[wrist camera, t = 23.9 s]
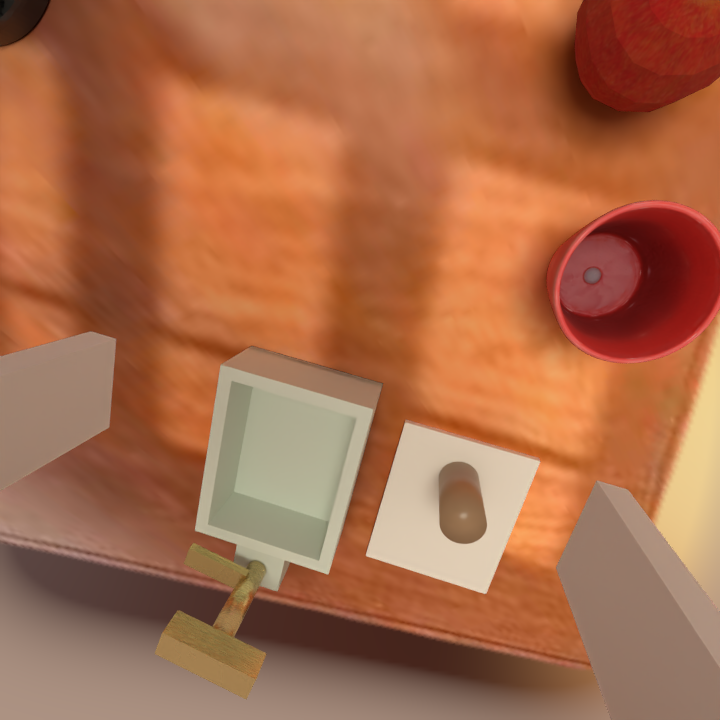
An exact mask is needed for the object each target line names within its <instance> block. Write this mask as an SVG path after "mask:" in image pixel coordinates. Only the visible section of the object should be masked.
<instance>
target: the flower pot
mask: <svg viewBox="0 0 720 720" xmlns="http://www.w3.org/2000/svg"><path fill="white" fill-rule="evenodd" d="M547 290H548V295H549V299H550V303H551V306H552V309H553V312H554V315H555V317H556V320H557V322H558V324H559V326H560V328H561V330H562V331H563V333H564V334H565V336H566V337H567V338H568V340H569V341H570V342H571V343H572V344H573V345H575V346H576V347H577V348H578V349H580V350H581V351H583V352H585V353H586V354H588V355H590V356H593V357H595V358H598V359H601V360H605V361H609V362H615V363H640V362H646V361H651V360H655V359H658V358H661V357H664V356H667V355H669V354H671V353H673V352H676V351H677V350H679V349H681V348H683V347H684V346H686V345H687V344H689V343H690V342H692V341H693V340H694V339H695V338H697V337H698V336H699V335H700V334H701V333H702V332H703V331H704V330H705V329H706V328H707V327H708V325H709V324H710V323H711V321H712V320H713V319H714V317H715V316H716V314H717V313H718V311H719V309H720V232H719V231H718V229H717V228H716V227H715V226H714V225H713V224H712V223H711V222H710V220H709V219H707V218H706V217H705V216H704V215H702V214H701V213H699V212H698V211H696V210H694V209H692V208H690V207H688V206H685V205H682V204H679V203H675V202H670V201H661V200H650V201H641V202H635V203H631V204H627V205H624V206H622V207H619V208H616V209H614V210H612V211H610V212H608V213H606V214H604V215H602V216H600V217H599V218H597V219H595V220H594V221H592V222H591V223H589V224H588V225H586V226H585V227H584V228H582V229H581V230H579V231H578V232H577V233H575V234H574V235H573V236H571V237H570V238H569V239H568V240H567V241H566V242H564V243H563V244H562V245H561V246H560V247H559V248H558V250H557V251H556V252H555V254H554V255H553V257H552V259H551V261H550V264H549V267H548V271H547Z"/></svg>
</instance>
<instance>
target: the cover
mask: <svg viewBox="0 0 720 720" xmlns="http://www.w3.org/2000/svg"><path fill="white" fill-rule="evenodd" d="M539 464H540V459H539V458H537V457H534V456H530V455H527V454H524V453H520V452H517V451H513V450H510V449H506V448H503V447H499V446H496V445H492V444H489V443H486V442H482V441H479V440H475V439H472V438H468V437H465V436H461V435H458V434H455V433H451V432H448V431H444V430H441V429H437V428H434V427H430V426H427V425H423V424H420V423H417V422H413V421H410V420H405V424H404V427H403V430H402V434H401V437H400V440H399V444H398V447H397V451H396V454H395V457H394V461H393V464H392V467H391V471H390V474H389V478H388V481H387V484H386V488H385V491H384V494H383V498H382V501H381V505H380V508H379V511H378V515H377V518H376V521H375V525H374V528H373V532H372V535H371V538H370V542H369V545H368V548H367V552H366V556H368V557H371V558H374V559H377V560H380V561H383V562H387V563H390V564H393V565H396V566H399V567H402V568H405V569H408V570H412V571H415V572H418V573H421V574H424V575H427V576H430V577H434V578H437V579H440V580H443V581H446V582H449V583H452V584H456V585H459V586H462V587H465V588H468V589H471V590H474V591H477V592H481V593H484V594H486V593H487V590H488V588H489V585H490V583H491V581H492V578H493V576H494V573H495V571H496V568H497V566H498V564H499V561H500V559H501V556H502V554H503V551H504V549H505V546H506V544H507V542H508V539H509V537H510V534H511V532H512V529H513V527H514V525H515V522H516V520H517V517H518V515H519V512H520V510H521V508H522V505H523V503H524V500H525V498H526V495H527V493H528V490H529V488H530V486H531V483H532V481H533V478H534V476H535V473H536V471H537V469H538V466H539Z"/></svg>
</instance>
